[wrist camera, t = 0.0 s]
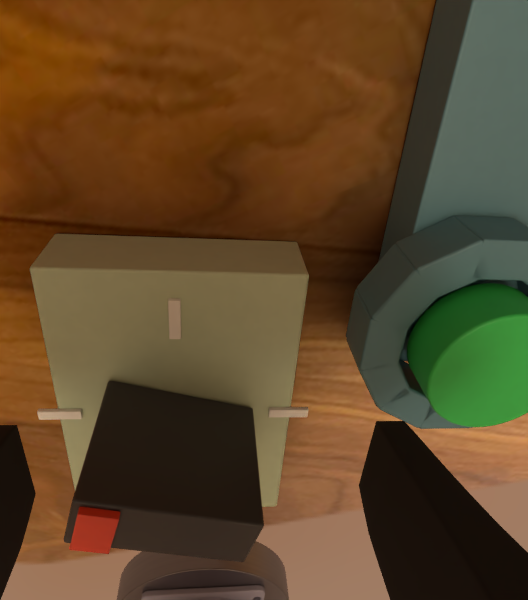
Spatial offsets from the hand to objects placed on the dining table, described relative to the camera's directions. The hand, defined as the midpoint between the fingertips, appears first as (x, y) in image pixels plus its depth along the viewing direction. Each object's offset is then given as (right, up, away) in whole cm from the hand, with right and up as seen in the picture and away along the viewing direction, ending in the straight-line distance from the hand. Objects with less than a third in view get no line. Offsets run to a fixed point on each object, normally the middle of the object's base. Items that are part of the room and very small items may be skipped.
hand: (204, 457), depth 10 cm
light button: (+8, +2, +5) cm, 9 cm away
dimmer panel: (-2, +1, +9) cm, 9 cm away
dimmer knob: (-2, -1, +6) cm, 7 cm away
